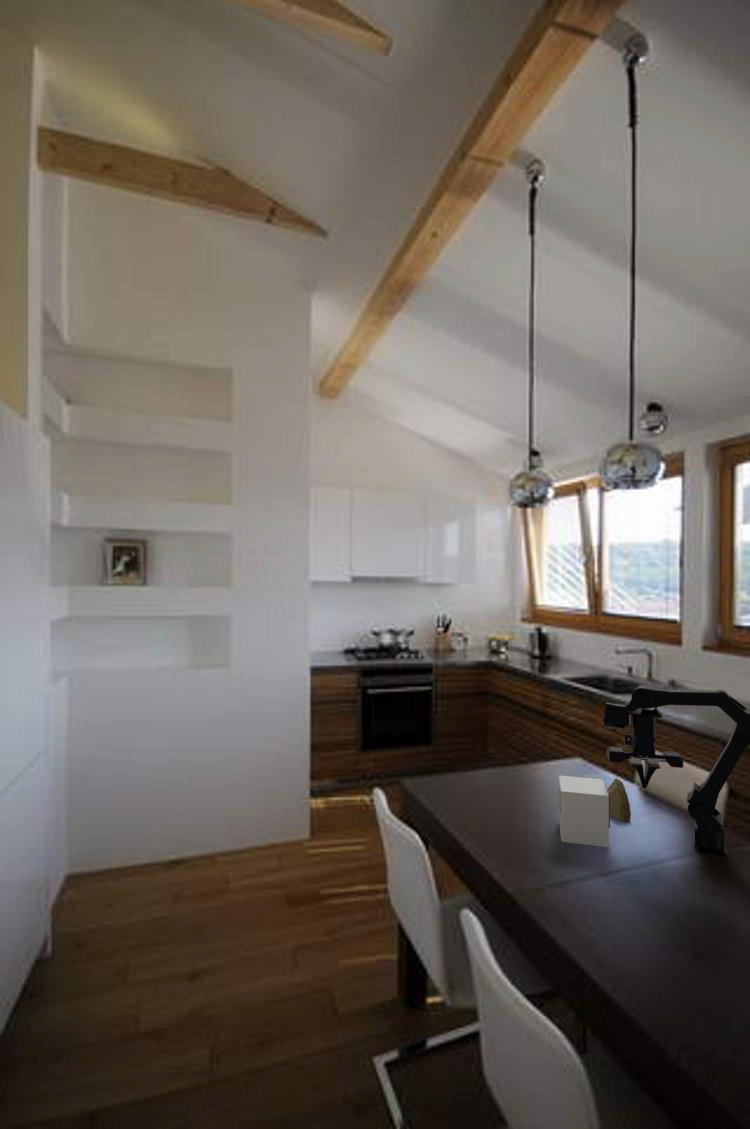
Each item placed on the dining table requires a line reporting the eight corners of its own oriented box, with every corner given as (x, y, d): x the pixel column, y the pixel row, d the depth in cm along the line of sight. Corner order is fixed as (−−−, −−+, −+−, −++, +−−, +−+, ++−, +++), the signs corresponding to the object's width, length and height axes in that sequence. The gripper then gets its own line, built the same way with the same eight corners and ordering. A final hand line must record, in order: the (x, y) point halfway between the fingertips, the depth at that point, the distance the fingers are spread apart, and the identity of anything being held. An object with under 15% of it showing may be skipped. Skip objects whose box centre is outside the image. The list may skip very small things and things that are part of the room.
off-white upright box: (605, 827, 163) (604, 779, 164) (611, 847, 151) (611, 796, 151) (559, 822, 167) (558, 775, 167) (561, 841, 154) (561, 791, 155)
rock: (641, 816, 166) (636, 799, 175) (622, 792, 167) (618, 776, 176) (609, 833, 169) (605, 816, 178) (590, 809, 170) (588, 793, 179)
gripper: (673, 727, 165) (674, 781, 164) (604, 722, 170) (604, 775, 169) (683, 737, 154) (684, 795, 153) (609, 731, 159) (609, 788, 158)
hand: (644, 788), depth 159 cm, fingers closed
